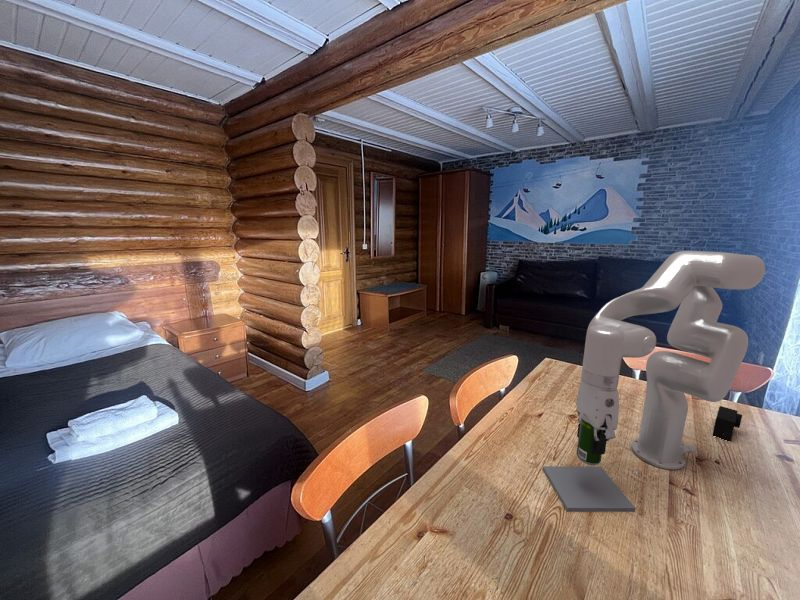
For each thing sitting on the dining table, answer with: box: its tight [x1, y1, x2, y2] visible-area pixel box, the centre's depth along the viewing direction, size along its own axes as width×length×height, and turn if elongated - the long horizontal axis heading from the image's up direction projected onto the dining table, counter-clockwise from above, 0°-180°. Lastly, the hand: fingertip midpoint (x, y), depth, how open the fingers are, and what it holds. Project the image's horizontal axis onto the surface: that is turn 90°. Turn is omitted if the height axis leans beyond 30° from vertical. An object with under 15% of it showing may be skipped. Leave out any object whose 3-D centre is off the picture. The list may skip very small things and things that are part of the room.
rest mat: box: [542, 465, 636, 513], centre depth 85 cm, size 16×14×1 cm
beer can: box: [576, 414, 604, 466], centre depth 82 cm, size 5×5×12 cm
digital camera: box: [712, 405, 743, 442], centre depth 107 cm, size 10×5×7 cm, turn 132°
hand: (590, 444), depth 82 cm, fingers closed on beer can, 5 cm apart
